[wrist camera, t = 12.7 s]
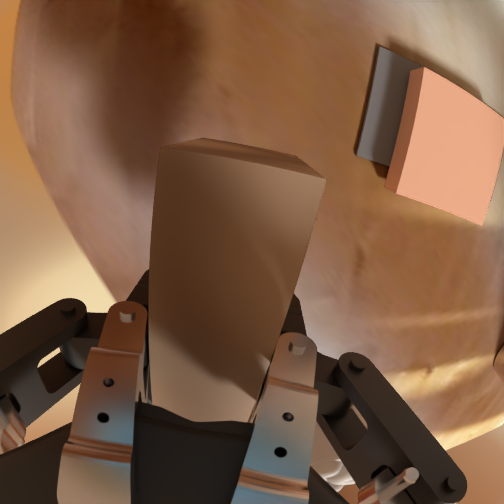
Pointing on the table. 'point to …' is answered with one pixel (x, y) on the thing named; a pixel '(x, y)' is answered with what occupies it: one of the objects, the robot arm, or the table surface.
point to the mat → (385, 106)
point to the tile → (446, 148)
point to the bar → (223, 271)
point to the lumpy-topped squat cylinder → (330, 459)
